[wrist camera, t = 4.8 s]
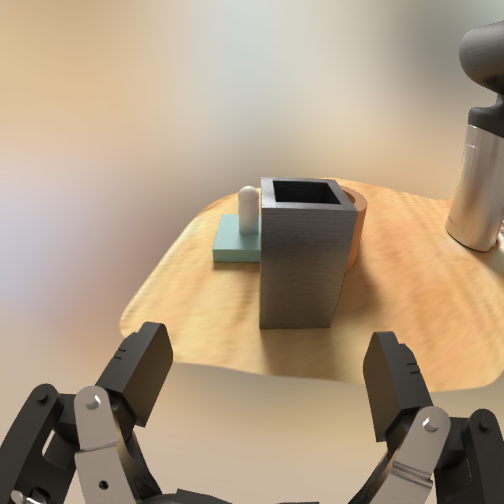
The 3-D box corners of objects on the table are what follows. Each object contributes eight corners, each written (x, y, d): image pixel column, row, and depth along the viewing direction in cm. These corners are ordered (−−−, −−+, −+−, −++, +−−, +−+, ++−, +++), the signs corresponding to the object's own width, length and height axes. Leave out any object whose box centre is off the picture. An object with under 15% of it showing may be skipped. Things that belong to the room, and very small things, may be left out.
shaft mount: (277, 225, 34) (279, 175, 31) (282, 262, 28) (286, 202, 24) (222, 224, 35) (219, 175, 31) (213, 261, 28) (208, 201, 24)
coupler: (318, 282, 25) (334, 179, 19) (329, 327, 20) (358, 210, 15) (259, 282, 25) (261, 176, 20) (259, 328, 20) (261, 207, 15)
